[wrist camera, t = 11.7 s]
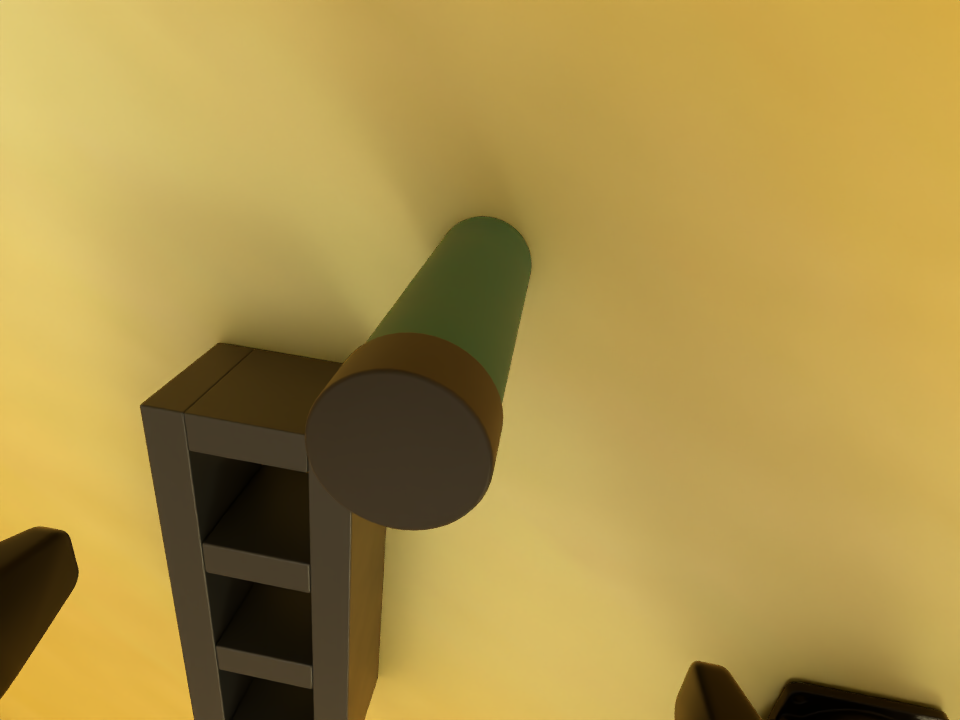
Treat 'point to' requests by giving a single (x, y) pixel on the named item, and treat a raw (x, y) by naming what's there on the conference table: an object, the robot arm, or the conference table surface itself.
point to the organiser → (261, 544)
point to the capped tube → (427, 387)
